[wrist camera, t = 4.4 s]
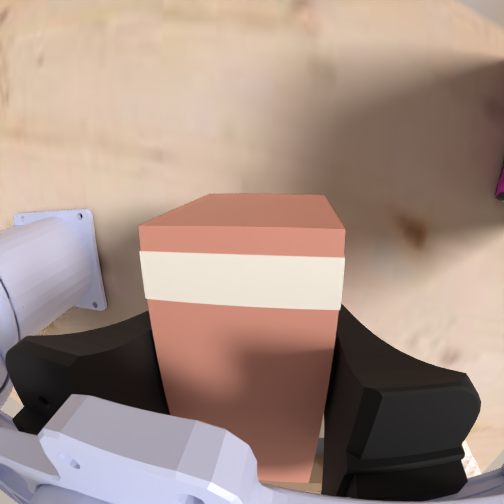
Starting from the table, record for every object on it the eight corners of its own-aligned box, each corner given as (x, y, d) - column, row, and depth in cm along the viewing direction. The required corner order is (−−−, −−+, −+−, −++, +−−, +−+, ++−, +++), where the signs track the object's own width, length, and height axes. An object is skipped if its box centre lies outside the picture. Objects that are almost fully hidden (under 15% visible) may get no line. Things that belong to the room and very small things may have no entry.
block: (220, 376, 15) (184, 469, 9) (209, 193, 13) (136, 226, 7) (311, 382, 15) (309, 483, 9) (324, 194, 12) (347, 229, 6)
